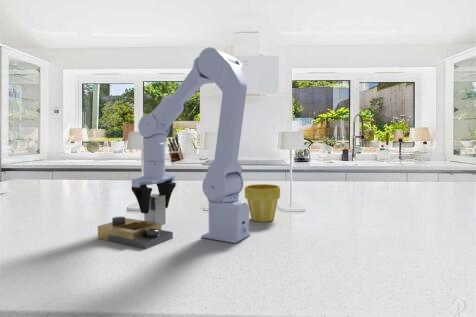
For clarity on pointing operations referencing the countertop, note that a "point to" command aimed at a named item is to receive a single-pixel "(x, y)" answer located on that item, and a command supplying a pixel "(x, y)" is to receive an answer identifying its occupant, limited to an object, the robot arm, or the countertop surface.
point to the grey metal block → (156, 209)
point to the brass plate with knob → (133, 232)
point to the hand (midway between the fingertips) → (154, 210)
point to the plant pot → (262, 201)
